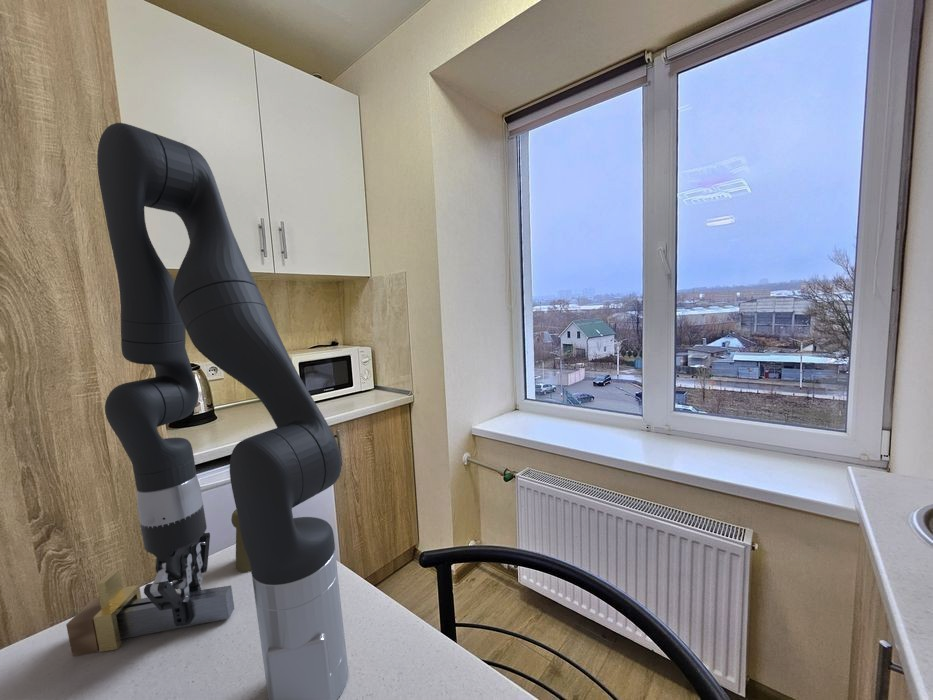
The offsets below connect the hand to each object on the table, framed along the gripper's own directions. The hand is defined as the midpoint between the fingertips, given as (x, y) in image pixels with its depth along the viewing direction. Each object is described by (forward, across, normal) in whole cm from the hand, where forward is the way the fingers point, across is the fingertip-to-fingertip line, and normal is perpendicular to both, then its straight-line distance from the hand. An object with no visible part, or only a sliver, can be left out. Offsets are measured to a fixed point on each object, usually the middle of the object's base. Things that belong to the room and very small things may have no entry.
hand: (189, 615), depth 60 cm
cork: (+2, +14, -4) cm, 15 cm away
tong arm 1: (+1, -1, +2) cm, 2 cm away
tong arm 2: (+1, +1, +2) cm, 2 cm away
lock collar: (+1, 0, +9) cm, 9 cm away
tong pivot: (+1, 0, +13) cm, 13 cm away
